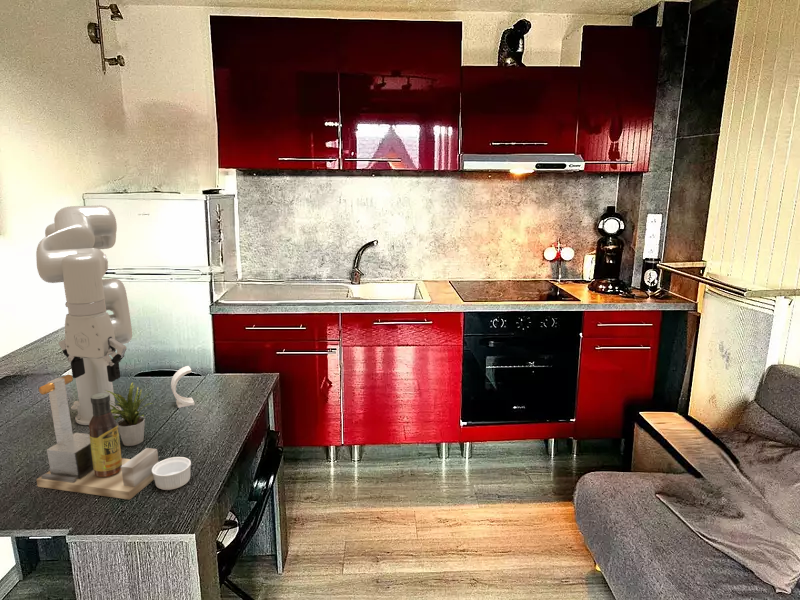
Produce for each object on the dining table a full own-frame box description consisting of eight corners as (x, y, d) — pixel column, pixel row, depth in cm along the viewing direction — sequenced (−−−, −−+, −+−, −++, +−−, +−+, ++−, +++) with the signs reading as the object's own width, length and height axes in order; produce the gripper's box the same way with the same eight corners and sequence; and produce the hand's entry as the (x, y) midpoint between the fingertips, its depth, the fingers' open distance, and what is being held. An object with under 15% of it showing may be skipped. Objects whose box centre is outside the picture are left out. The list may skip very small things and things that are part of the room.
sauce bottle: (111, 480, 131) (100, 402, 126) (88, 477, 132) (76, 400, 128) (129, 466, 137) (119, 391, 133) (107, 463, 138) (97, 390, 134)
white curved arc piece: (194, 404, 178) (191, 369, 175) (174, 408, 175) (171, 373, 173) (192, 399, 182) (188, 365, 179) (172, 403, 179) (169, 368, 176)
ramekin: (153, 495, 128) (151, 478, 128) (153, 476, 136) (151, 460, 135) (193, 486, 132) (191, 470, 131) (191, 469, 140) (189, 453, 139)
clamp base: (37, 486, 132) (33, 460, 130) (79, 459, 144) (75, 435, 143) (130, 499, 127) (126, 472, 125) (165, 470, 139) (162, 445, 137)
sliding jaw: (50, 474, 133) (36, 387, 128) (79, 456, 141) (66, 373, 136) (79, 478, 131) (66, 389, 126) (107, 459, 140) (95, 376, 134)
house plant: (106, 433, 159) (99, 380, 155) (158, 425, 164) (152, 373, 160) (100, 456, 146) (92, 399, 142) (157, 446, 151) (151, 391, 147)
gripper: (41, 309, 123) (52, 380, 128) (108, 314, 120) (117, 387, 124) (67, 301, 130) (77, 369, 135) (131, 306, 127) (139, 375, 131)
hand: (96, 377), depth 129 cm, fingers open, 9 cm apart
